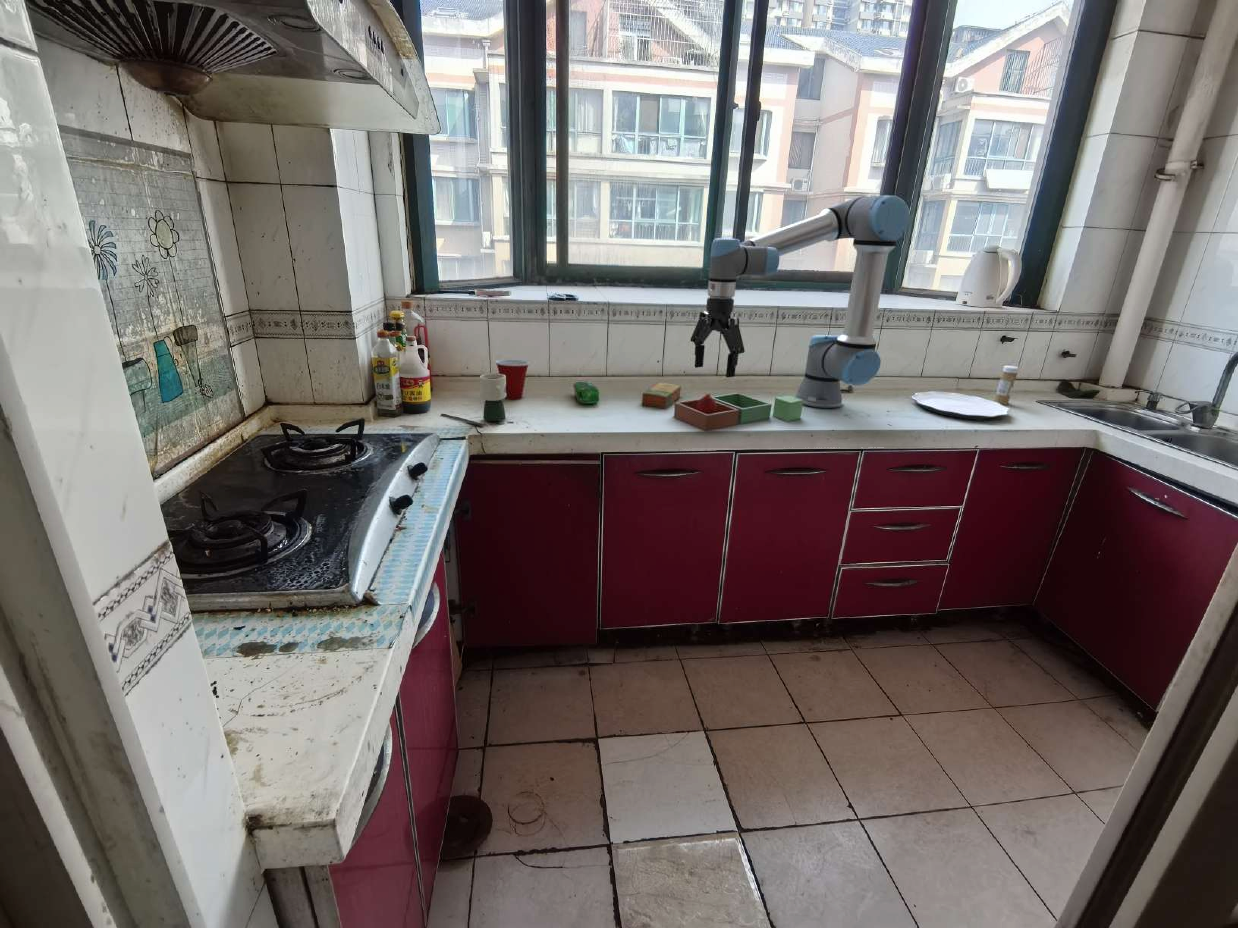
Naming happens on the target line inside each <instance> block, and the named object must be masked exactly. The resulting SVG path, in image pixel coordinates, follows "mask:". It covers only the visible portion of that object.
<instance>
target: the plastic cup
mask: <svg viewBox="0 0 1238 928" xmlns="http://www.w3.org/2000/svg"><path fill="white" fill-rule="evenodd" d="M494 362H495V364H496V367H497V371H498V374H503V375H505V376H506V397H505V398H504V399H507V400H520V399H522V398H523V395H524V388H525V383H526V375H527V371H528V368H529V365H530V362H529V361H528V360H521V359H498V360H495V361H494Z"/></svg>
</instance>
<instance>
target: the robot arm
mask: <svg viewBox="0 0 1238 928" xmlns="http://www.w3.org/2000/svg"><path fill="white" fill-rule="evenodd" d="M910 220H911V213H910V209H909V206H908V205H907V204H906V202H905V201H904V199H902V198H901V197H899V196H896V195H888V194H883V195H882V194H881V195H871V196H856V197H853V198H851V199H848V200H845V201H843V202H840V203H838V204H835V205H833V206H830V207H827V208H825V209H823V210H822V211H821V212H820V214H818V215H815V216H813V217H809V218H807V219H804V220H801V221H798V222H795V223H793V224H790V225H787V226H784V227H781V228H778V229H775V230H772V231H770V232H767V233H764V234H760V235H758V236H756V237H753V238H750V239H748V240H744V241H742V242H741V241H740V239H738V238H724V237H723V238H721V237H716V238H714V239H713V241H712V242H711V249H710V255H709V273H708V274H709V275H708V285H707V296H709V297H707V298H706V305H705V306H706V307H705V310H706V311H701V312H699V318H698V321H697V323H696V325H695V327H694V330H693V332H692V335H691V337H690V342H691V343H693V345H694V368H697V369H698V368H703V367H704V361H705V348H706V347H705V342H706V340H707V339H708V338H709V336H710V335H711V334H712V333H713V331H715V332H719V333H720V335H721V336H723V339H724V342H725V345H726V346H727V348H728V351H729V353H728V354H727V360H726V361H727V362H726V372H725V377H726V378H728V379H729V378H733V377H735V376H736V367H737V366H738V360H739V355H741V354H744V353H745V351H746V349H745V346H744V341H743V337H742V333H741V328H740V318H739V317H731V314H732V312H733V311H734V304H735V299H734V297H735V295H736V285H737V276H762V277H764V276H772V275H774V274H775V273H776V272H777V271H778V268H779V265H780V257H782V256H785V255H787V254H790V253H793V252H796V251H798V250H802V249H804V248H807V247H810V246H813V245H816V244H818V243H821V242H824V241H826V242H829V243H831V242H834V241H837V240H843V239H853V241H852V246H853V248H854V249H855V250H856V257H855V263H854V268H853V273H852V279H851V284H850V289H849V290H850V291H849V297H848V303H847V308H846V315H845V318H844V324H843V330H842V333H841V334H839V335H838V334H837V335H836V334H815V335H812V337H811V338H810V342H809V345H808V352H807V359H806V364H805V371H804V375H803V376H804V377H803V379H802V381H801V383H800V386H799V387H798V390H797V392H796V394H795V397H794V398H798V399H801V400H803V404H802V406H807V407H811V408H817V409H837V408H840V407H841V406H842V402H843V396H842V393H850V392H851V391H853V386H864V385H865V384H868V383H869V382H870V381H871V380H873V379H874V378H875V377H876V376H877V374H878V373H879V371H880V368H881V364H882V363H881V362H882V359H881V357H880V356H879V353H878V352H877V351H876V347H877V340H876V339H875V338H874V336H873V334H874V329H875V325H876V319H877V315H878V309H879V305H880V304H879V303H880V300H881V299H880V298H881V293H882V288H883V283H884V277H885V273H886V268H887V262H888V257H889V254H890V252H891V251H893V250H894V249H895V248H896V246H897V241H898V240H899V239H900V238H902V237H903V235H904V233H906V231H907V230H908V228H909V225H910ZM841 382H843V383H844V384H846V385H848V389H846V388H841Z"/></svg>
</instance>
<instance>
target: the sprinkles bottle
mask: <svg viewBox="0 0 1238 928" xmlns="http://www.w3.org/2000/svg"><path fill="white" fill-rule="evenodd" d="M1019 370H1020V368H1019V367H1018V366H1015V365H1004V366H1003V369H1002V374H1001V377H1000V379H999V382H998V383H999V385H998V387H997V389H996V390H997V391H996V394H995V398H994V400H993V401H994V402H997V403H999V404H1001V405H1002V406H1006V405H1009V403H1010V402H1009V401H1010V398H1011V395H1012V392H1013V388H1014V386H1015V385H1014V384H1015V381H1016V377H1017V375H1018V373H1019Z"/></svg>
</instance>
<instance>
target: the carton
mask: <svg viewBox="0 0 1238 928" xmlns="http://www.w3.org/2000/svg"><path fill="white" fill-rule="evenodd" d="M681 389H682V387H681V385H680V384H673V383H667V382H666V383H665V382H657V383H656V384H654V385H653V386H651V387H650V388H648V389H647V390H644V392H642V398H641V405H643V406H648V407H652V408H653V407H654V408H660V409H668V407H669V406H671V405H672V404H673V403H675V402H676V400H678V399H679V398H680V397H681Z"/></svg>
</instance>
